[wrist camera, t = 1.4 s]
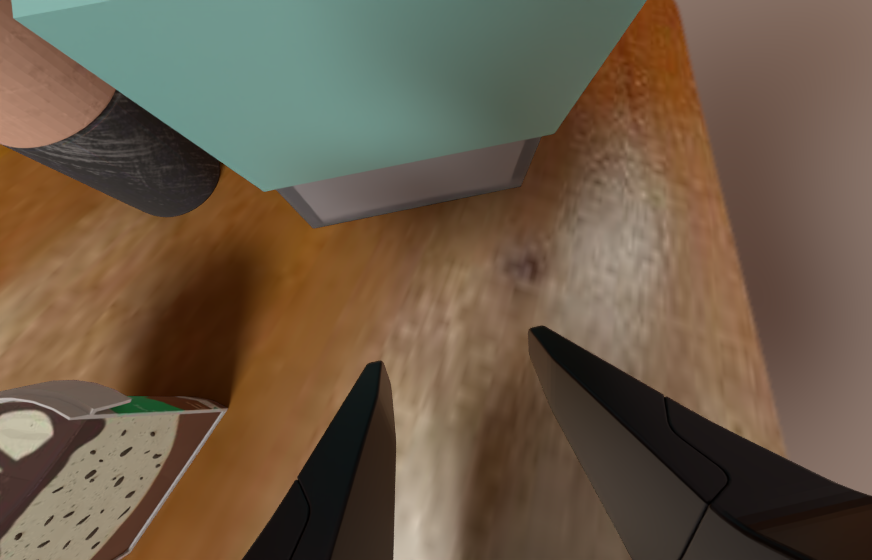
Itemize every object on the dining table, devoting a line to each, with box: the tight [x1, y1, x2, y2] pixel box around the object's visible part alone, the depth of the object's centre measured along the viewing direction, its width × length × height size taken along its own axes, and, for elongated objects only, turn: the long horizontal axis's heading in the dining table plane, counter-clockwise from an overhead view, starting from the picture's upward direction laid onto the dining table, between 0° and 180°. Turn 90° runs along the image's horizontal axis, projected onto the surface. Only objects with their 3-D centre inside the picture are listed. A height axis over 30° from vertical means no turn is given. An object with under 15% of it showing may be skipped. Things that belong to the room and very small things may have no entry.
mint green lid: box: [11, 0, 646, 192], centre depth 13 cm, size 10×16×1 cm
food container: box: [0, 380, 228, 560], centre depth 16 cm, size 12×6×10 cm, turn 150°
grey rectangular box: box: [276, 136, 542, 228], centre depth 23 cm, size 10×16×7 cm, turn 102°
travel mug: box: [0, 0, 220, 217], centre depth 16 cm, size 8×8×20 cm
